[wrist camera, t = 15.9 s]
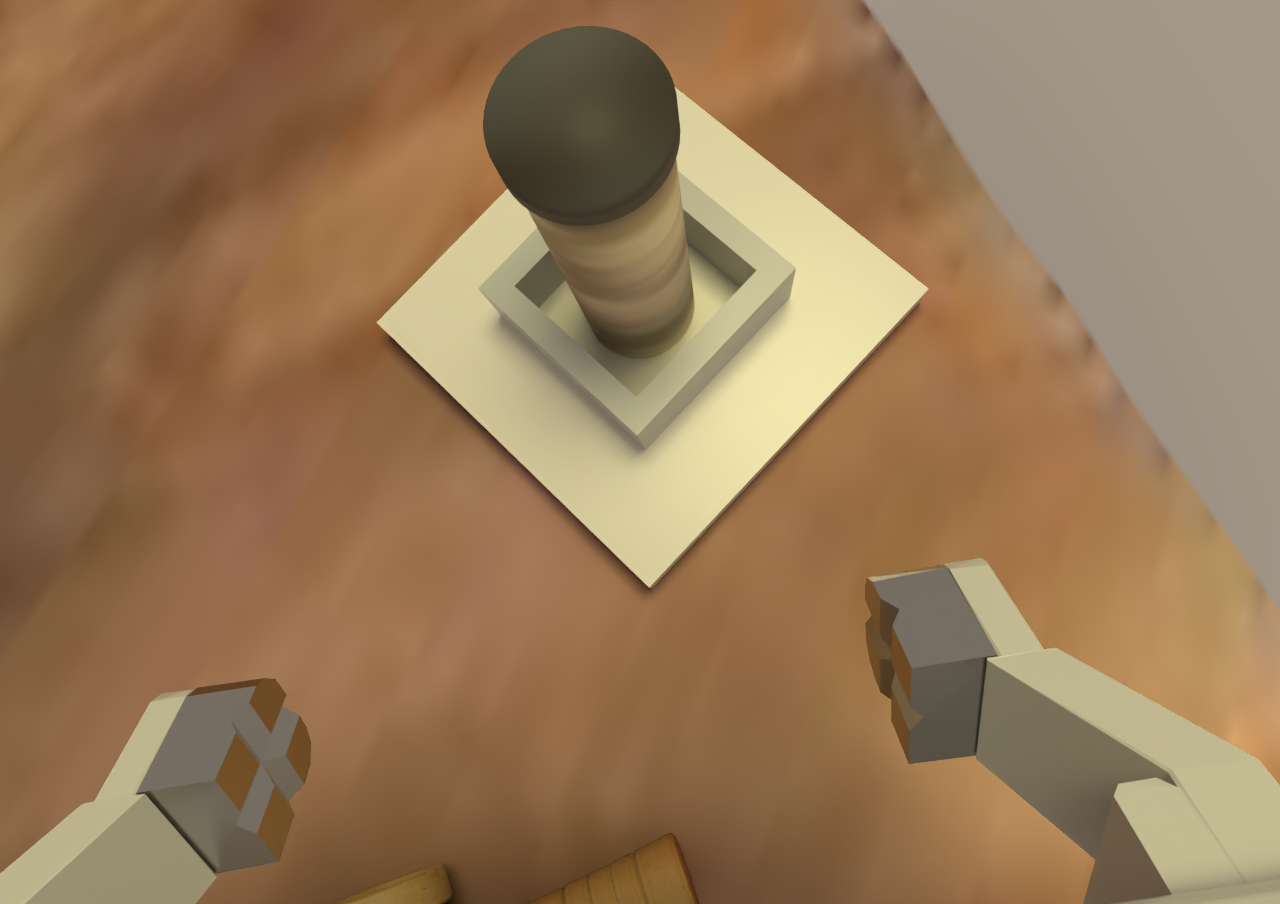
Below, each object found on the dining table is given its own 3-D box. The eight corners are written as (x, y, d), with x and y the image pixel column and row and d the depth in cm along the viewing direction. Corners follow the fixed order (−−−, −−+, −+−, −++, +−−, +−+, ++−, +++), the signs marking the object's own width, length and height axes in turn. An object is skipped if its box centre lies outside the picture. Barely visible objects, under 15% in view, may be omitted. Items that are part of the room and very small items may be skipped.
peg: (558, 310, 33) (444, 126, 20) (638, 228, 33) (577, -10, 20) (642, 386, 32) (580, 246, 19) (724, 300, 32) (719, 102, 19)
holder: (391, 333, 35) (343, 297, 31) (640, 78, 36) (627, 7, 31) (652, 587, 32) (640, 587, 28) (919, 302, 33) (949, 258, 28)
